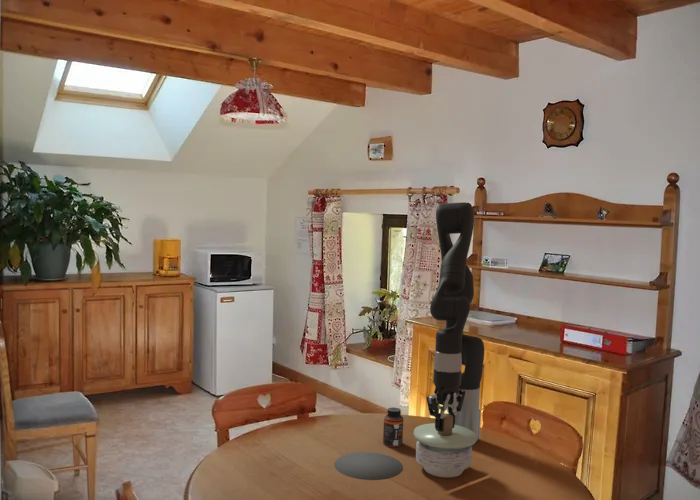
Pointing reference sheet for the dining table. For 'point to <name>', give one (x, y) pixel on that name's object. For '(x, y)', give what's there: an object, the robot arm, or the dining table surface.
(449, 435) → the lid
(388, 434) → the supplement bottle
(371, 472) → the mat
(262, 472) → the dining table surface
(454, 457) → the paper bowls
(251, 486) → the dining table surface
